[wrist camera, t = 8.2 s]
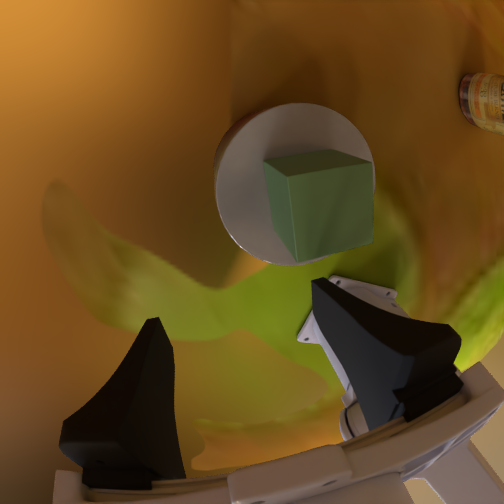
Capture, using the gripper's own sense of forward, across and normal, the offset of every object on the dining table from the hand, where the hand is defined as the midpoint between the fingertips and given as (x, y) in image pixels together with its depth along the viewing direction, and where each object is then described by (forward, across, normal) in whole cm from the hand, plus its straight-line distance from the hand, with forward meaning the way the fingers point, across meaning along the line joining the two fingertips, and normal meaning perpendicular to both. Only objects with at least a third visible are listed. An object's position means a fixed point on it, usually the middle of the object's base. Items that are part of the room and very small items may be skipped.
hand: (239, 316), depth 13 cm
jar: (+10, -5, -4) cm, 12 cm away
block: (+4, -5, -4) cm, 8 cm away
